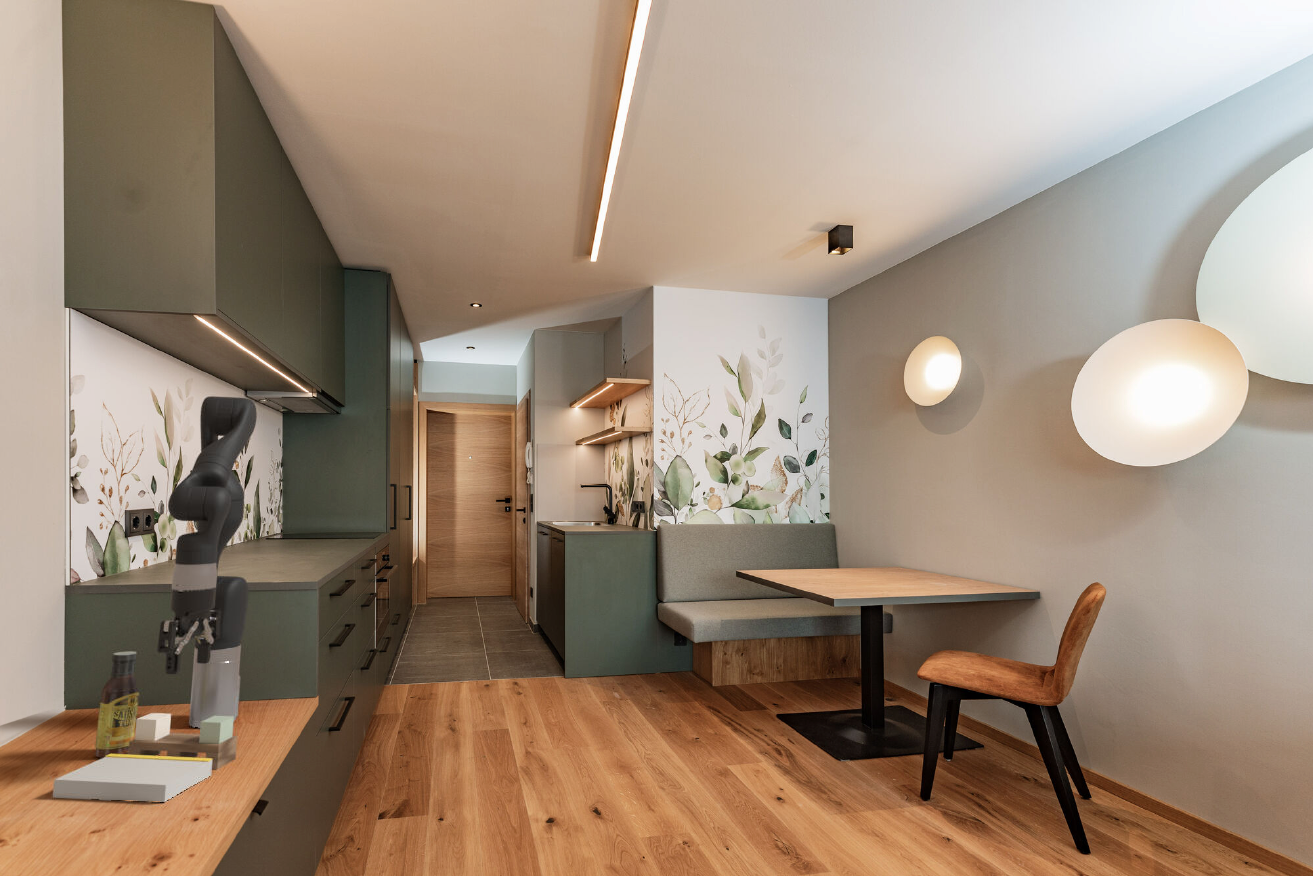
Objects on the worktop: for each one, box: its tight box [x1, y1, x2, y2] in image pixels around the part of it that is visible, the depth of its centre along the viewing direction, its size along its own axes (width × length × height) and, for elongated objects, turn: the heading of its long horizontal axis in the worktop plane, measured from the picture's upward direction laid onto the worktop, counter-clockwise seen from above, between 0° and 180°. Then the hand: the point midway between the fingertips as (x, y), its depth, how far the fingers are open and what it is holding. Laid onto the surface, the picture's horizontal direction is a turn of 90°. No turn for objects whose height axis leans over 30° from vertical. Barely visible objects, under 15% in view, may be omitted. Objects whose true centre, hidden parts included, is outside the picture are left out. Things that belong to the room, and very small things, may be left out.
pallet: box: [127, 732, 238, 770], centre depth 141 cm, size 6×18×4 cm, turn 87°
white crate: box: [134, 712, 172, 741], centre depth 142 cm, size 4×4×4 cm
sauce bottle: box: [94, 651, 140, 759], centre depth 145 cm, size 6×6×20 cm
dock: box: [52, 753, 213, 802], centre depth 129 cm, size 12×20×3 cm, turn 87°
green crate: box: [199, 716, 235, 744], centre depth 141 cm, size 4×4×4 cm
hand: (188, 668), depth 142 cm, fingers open, 8 cm apart
